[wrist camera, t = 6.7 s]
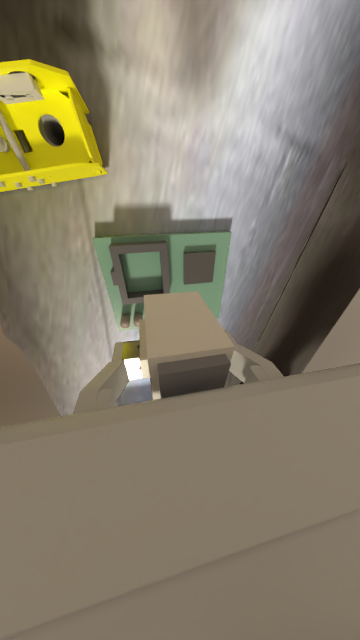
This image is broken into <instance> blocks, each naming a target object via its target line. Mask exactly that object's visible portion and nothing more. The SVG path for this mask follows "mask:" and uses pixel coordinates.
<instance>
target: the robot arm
mask: <svg viewBox="0 0 360 640" xmlns="http://www.w3.org/2000/svg"><path fill="white" fill-rule="evenodd" d="M224 331H225V333H226V334H227V335H228V337H229V338H230V340H231V341H232V343H233V344H234V346H235V348H234V351H233V355H232V358H231V362H230V363H231V365H230V369H229V371H230V372H231V373H233V374H234V375H235V376H236V377H237V378H239V379H240V380H241V381H242V382H244V384H240V385H235V386H229V387H223V388H218V389H212V390H207V391H201V392H195V393H190V394H184V395H178V396H173V397H167V398H161V399H156V400H150V401H144V402H139V403H133V404H127V405H122V406H118V404H117V402H116V401H117V399H118V398H119V396H120V394H121V393H122V391H123V390H124V388H125V387H126V385H127V383H128V382H129V380H131V379H137V378H142V377H143V376H142V370H141V365H140V340H138V341H127V342H118V343H116V344H115V347H114V353H113V358H112V362H109V363H108V364H107V365H106V366H105V367H104V368H103V369H102V370H101V371H100V372H99V373H98V374H97V375H96V376H95V377H94V378H93V379H92V380H91V381H90V382H89V383H88V384H87V386H86V387H85V388H84V389H83V390H82V391H81V392H80V394H79V397H78V400H77V403H76V406H75V409H74V412H73V414H71V415H65V416H60V417H54V418H49V419H43V420H37V421H32V422H26V423H21V424H15V425H9V426H4V427H0V640H360V363H359V364H353V365H347V366H342V367H336V368H331V369H325V370H319V371H314V372H308V373H303V374H297V375H291V376H283V375H282V374H281V372H280V371H279V370H278V369H277V368H276V366H275V365H274V364H273V363H272V362H271V361H269V360H267V359H265V358H263V357H261V356H260V355H258V354H256V353H254V352H252V351H250V350H248V349H246V348H245V347H243V346H241V345H237V343H236V342H235V341H234V339H233V338H232V336H231V335H230V333H229V332H228V331H227V330H224Z"/></svg>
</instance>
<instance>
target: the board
mask: <svg viewBox="0 0 360 640" xmlns="http://www.w3.org/2000/svg"><path fill="white" fill-rule="evenodd" d="M230 238H231V232H229V231H213V232H191V233H168V234H145V235H122V236H100V237H94V238H93V242H94V245H95V249H96V252H97V256H98V259H99V263H100V266H101V269H102V273H103V276H104V280H105V283H106V287H107V290H108V294H109V297H110V301H111V304H112V307H113V311H114V314H115V318H116V321H117V325H118V328H119V331H125V330H132V329H139V319H145V311H144V295H153V294H167V293H180V292H194V291H198V293H199V294H200V296H201V297H202V299H203V300H204V302H205V303H206V305H207V306H208V307H209V309H210V310H211V312H212V313H213V315H214V316H215V318H216V319H218V318H219V313H220V306H221V299H222V292H223V286H224V279H225V272H226V265H227V258H228V251H229V245H230Z"/></svg>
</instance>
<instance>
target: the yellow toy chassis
mask: <svg viewBox="0 0 360 640" xmlns="http://www.w3.org/2000/svg"><path fill="white" fill-rule="evenodd" d="M13 71H23V72H25V73H17V74H9V73H10V72H13ZM29 73H30V74H32V75H33V76H35V77H36V78H35V80H34V79H33V77H32V76H31V75H30V74H29ZM85 114H89V110H88V108H87V106H86V104H85V103H84V101H83V99H82V97H81V95H80V93H79V92H78V90H77V88H76V86H75V84H74V82H73V80H72V79H71V77H70V75H69V73H68V71H65V70H62V69H59V68H56V67H53V66H49V65H46V64H43V63H40V62H37V61H34V60H30V59H27V60H18V61H8V62H0V192H3V191H9V190H15V189H21V188H27V189H28V191H32V190H34V189H33V186H39V185H45V184H52V186H53V187H56V186H58V185H57V182H63V181H69V180H75V179H81V178H87V177H93V176H99V175H105V174H108V172H107V171H106V170H105V169H104V168H103V167H102V164H103V162H102V159H101V156H100V153H99V150H98V146H97V143H96V140H95V137H94V134H93V130H92V127H91V125H90V124H88V121H87V118H86V115H85ZM63 136H65V140H64V143H63V144H62V138H63Z"/></svg>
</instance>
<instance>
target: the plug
mask: <svg viewBox="0 0 360 640" xmlns="http://www.w3.org/2000/svg"><path fill="white" fill-rule="evenodd" d="M144 311H145V319H139V334H140V365H141V370H142V376H143V379H144V378H150V382H151V389H152V396H153V400H156V399H161V398H167V397H173V396H178V395H184V394H190V393H195V392H201V391H207V390H212V389H218V388H223V387H224V386H225V382H226V379H227V376H228V372H229V369H230V365H231V363H230V362H231V358H232V355H233V351H234V348H235V346H234V344H233V343H232V341H231V340H230V338H229V337H228V335H227V334H226V333H225V331H224V330H223V328H222V327H221V325H220V324H219V322H218V321H217V319H216V318H215V316H214V315H213V313H212V312H211V310H210V309H209V307H208V306H207V305H206V303H205V302H204V300H203V299H202V297H201V296H200V294H199V293H198V291H194V292H180V293H167V294H153V295H144Z"/></svg>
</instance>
